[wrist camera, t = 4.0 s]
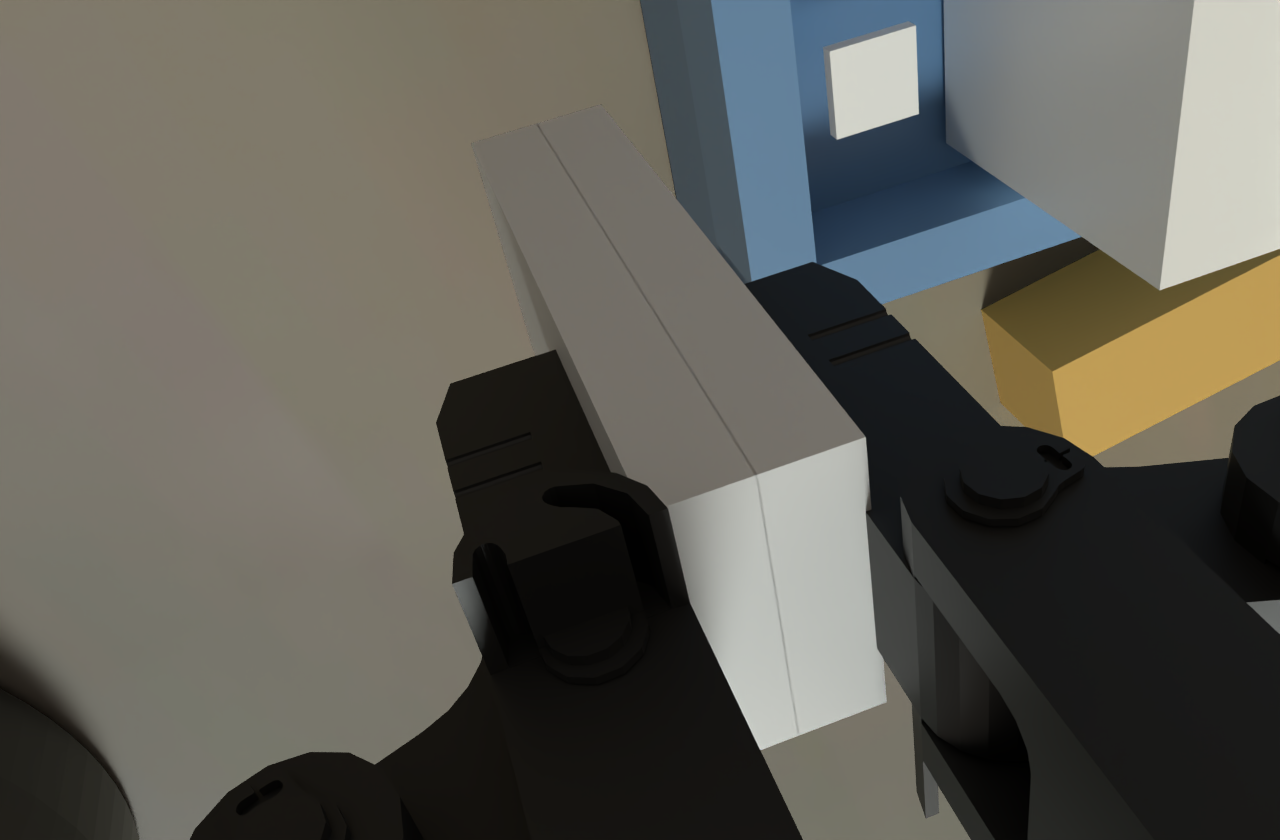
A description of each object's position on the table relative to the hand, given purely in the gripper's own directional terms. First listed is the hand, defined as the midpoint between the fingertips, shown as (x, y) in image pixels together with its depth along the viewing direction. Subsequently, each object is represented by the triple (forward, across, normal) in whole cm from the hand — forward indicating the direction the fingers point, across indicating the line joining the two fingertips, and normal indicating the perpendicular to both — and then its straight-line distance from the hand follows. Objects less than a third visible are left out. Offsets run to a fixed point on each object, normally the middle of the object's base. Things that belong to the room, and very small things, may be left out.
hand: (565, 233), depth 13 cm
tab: (+3, +8, 0) cm, 9 cm away
